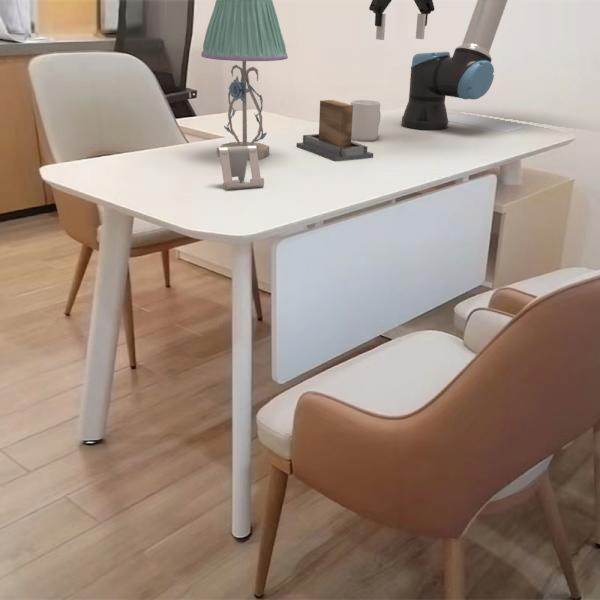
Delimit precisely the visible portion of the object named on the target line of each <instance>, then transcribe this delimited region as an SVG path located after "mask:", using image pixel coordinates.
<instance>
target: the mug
mask: <svg viewBox="0 0 600 600" xmlns="http://www.w3.org/2000/svg"><path fill="white" fill-rule="evenodd" d="M350 105H353V118H352V136H351V141H352V140H353V141H356V140H357V142H373V141H374V142H375V141H376V140H377V139H378V137H379V126H380V123H381V102H380V101H378V100H374V99H373V100H372V99H354V100H351V101H350Z"/></svg>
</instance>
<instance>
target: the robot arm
mask: <svg viewBox="0 0 600 600" xmlns="http://www.w3.org/2000/svg"><path fill="white" fill-rule="evenodd" d="M392 1H393V0H371V3H370V5H369V7H368V9H369V11H370V12H371V11H372V13H374V14H375V16H374V19H375V20H374V26H375V27H376V33H375V39H376V40H378V41H379V40H380V41H384V40H385V31H386V30H385V29H386V28H385V27H386V18H387V14H386V13H384V12H385V10H386V9H387V8H388V7H389V5H390V4H391V2H392ZM413 1H414V3H415V5H416V7H417V9H418V10H419V12H420V13H417V18H416V27H415V28H416V31H415V39H416V40H424V39H425V29H426V27H427V25H428V17H429V15H430V14H431V13H432V12H434V11H435V4H434V2H433V1H434V0H413ZM507 3H508V0H477V1H476V4H475V6H474V10H473V13H472V16H471V19H470V22H469V24H468V27H467V30H466V32H465V35H464V38H463V40H462V44H461V45H458V47H455V49H454V52H453V55H452V56H451V55H450V52H449V51H440V52H439V51H437V52H436V51H435V52H425V53H415V54H414V55H413V57H412V60H411V61H412V62H411V66H410V78H409V92H408V93H409V94H408V102H407V105H406V107H405V109H404V112H403V115H402V117H401V122H400V125H401V126H402V127H405V128H409V129H414V130H427V131H428V130H432V131H433V130H436V131H437V130H443V129H447V128H448V127H449V119H448V118H449V117H448V113H447V107H446V97H452V98H457V99H458V98H459V99H461V100H478V99H480V98H482V97H483V96H485V95H486V94H487V93H488V91H489V90H490V89H491V86H492V83H493V81H494V77H495V75H494V73H495V70H494V66H493V64H492V63H491V62H492V60H493V58H492V57H491V54H490V52H491V48H492V45H493V43H494V40H495V37H496V34H497V31H498V28H499V25H500V23H501V20H502V17H503V15H504V11H505V8H506V6H507Z"/></svg>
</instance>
